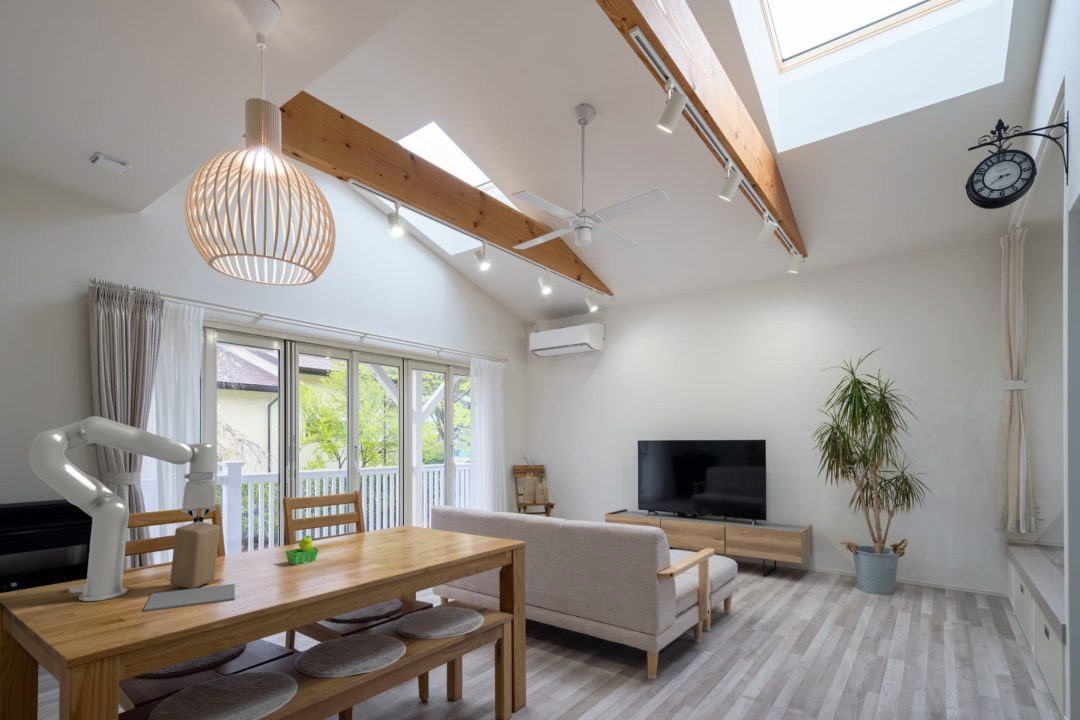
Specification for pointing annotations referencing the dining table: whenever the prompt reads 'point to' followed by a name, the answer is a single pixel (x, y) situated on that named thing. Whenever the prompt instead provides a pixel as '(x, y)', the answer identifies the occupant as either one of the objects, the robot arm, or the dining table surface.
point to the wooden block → (194, 555)
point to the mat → (190, 597)
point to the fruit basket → (303, 552)
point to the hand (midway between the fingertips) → (197, 528)
